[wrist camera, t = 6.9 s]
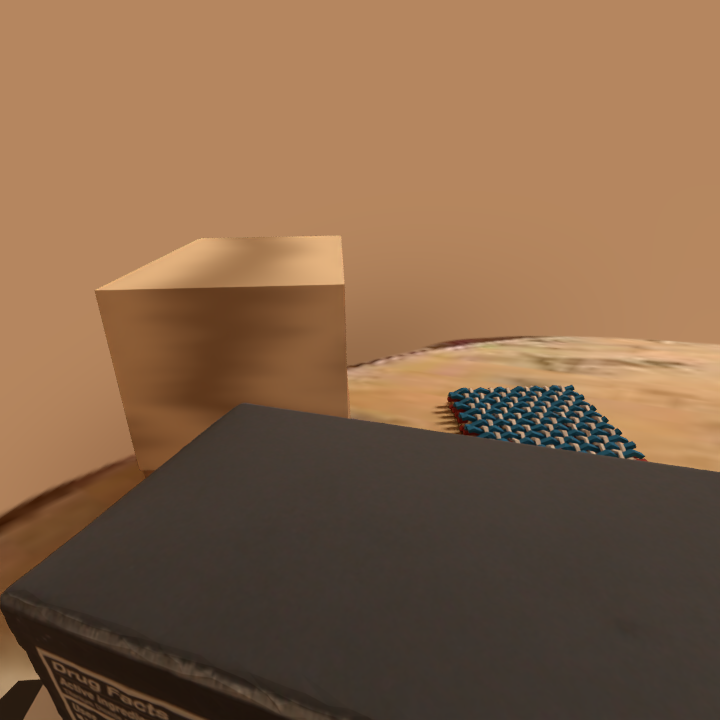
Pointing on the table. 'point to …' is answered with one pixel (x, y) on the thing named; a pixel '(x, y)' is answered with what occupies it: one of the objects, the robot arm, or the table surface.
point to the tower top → (226, 336)
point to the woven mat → (539, 419)
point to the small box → (383, 582)
